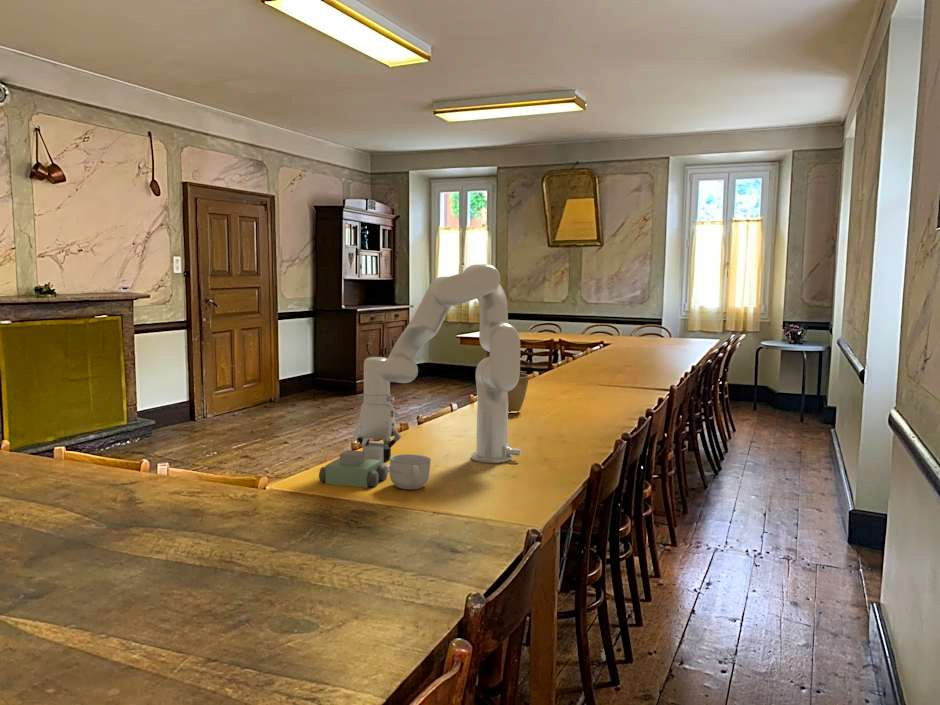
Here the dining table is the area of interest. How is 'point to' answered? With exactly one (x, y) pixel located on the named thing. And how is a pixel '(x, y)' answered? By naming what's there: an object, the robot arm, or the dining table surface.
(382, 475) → the toy car
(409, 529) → the dining table surface
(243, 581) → the dining table surface
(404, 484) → the teacup
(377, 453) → the light grey box
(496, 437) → the robot arm
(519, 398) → the plant pot
